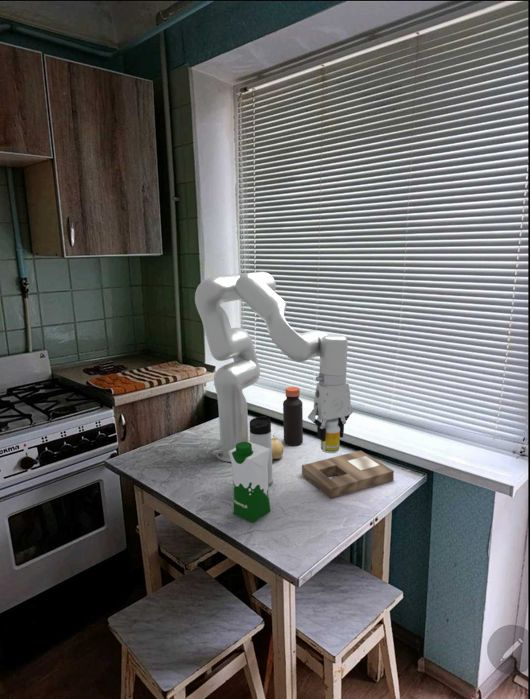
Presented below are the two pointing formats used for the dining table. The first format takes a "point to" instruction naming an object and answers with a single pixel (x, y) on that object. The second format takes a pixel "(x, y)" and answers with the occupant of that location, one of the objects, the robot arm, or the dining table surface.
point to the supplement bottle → (331, 437)
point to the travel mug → (262, 438)
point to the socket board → (347, 473)
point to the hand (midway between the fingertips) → (330, 437)
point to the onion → (276, 448)
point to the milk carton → (250, 480)
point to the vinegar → (293, 417)
